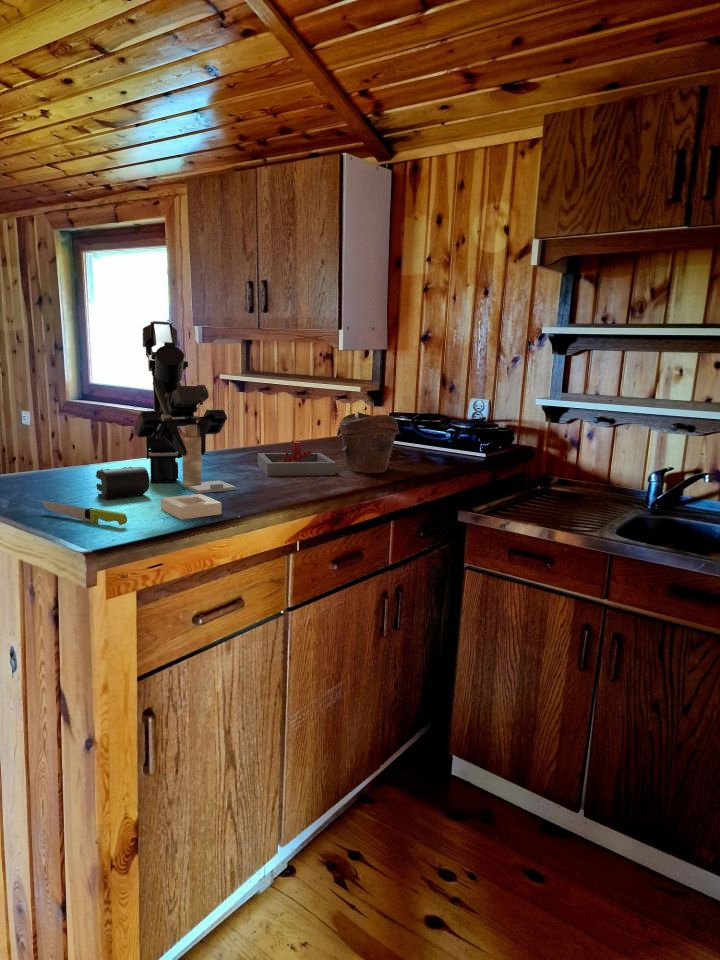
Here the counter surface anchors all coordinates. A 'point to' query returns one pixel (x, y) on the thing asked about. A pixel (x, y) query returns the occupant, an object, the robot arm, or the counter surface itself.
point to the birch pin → (192, 457)
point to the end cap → (122, 482)
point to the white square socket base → (190, 506)
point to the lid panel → (211, 487)
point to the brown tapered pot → (367, 441)
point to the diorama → (296, 453)
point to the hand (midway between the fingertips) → (194, 454)
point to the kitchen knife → (86, 513)
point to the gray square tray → (296, 465)
